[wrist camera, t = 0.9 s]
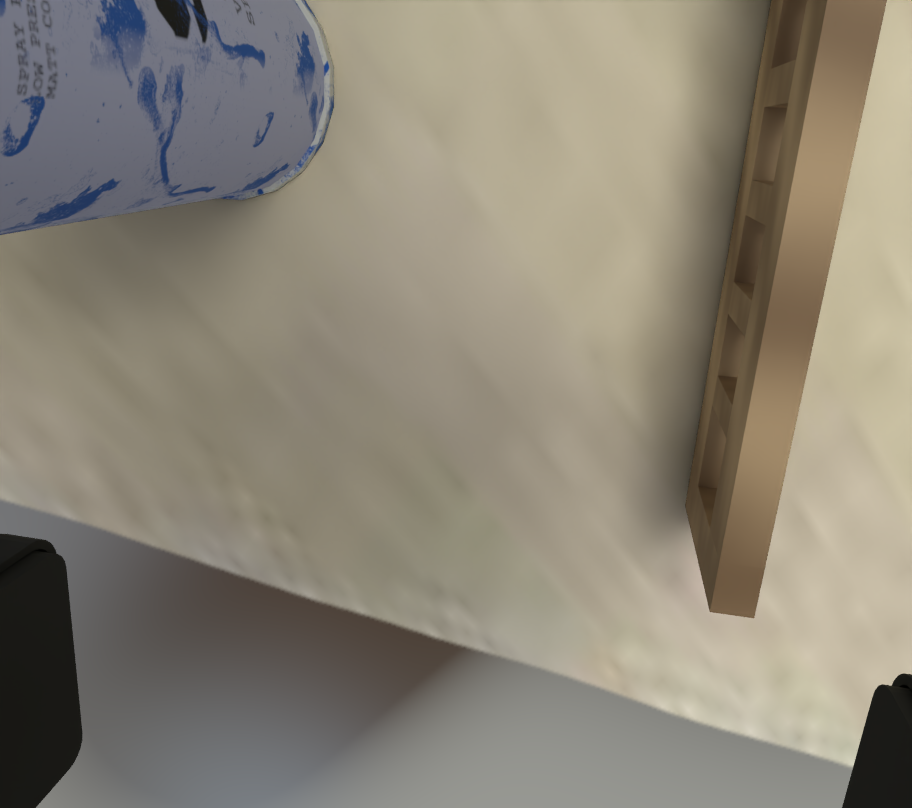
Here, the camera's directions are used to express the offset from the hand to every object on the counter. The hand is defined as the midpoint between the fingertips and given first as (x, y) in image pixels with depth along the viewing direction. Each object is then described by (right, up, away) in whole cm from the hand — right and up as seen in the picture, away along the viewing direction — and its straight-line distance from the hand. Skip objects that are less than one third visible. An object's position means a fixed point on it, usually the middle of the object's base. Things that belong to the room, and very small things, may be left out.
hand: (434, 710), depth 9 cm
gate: (+10, +8, +16) cm, 21 cm away
